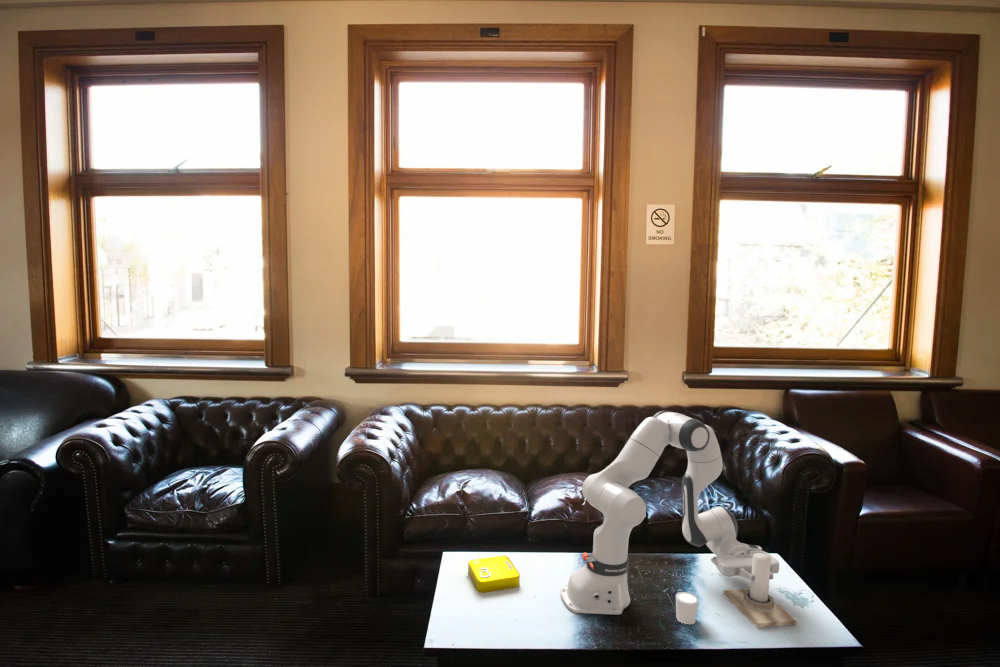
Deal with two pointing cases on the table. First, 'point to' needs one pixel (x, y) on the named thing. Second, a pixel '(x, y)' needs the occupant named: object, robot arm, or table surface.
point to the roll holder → (759, 609)
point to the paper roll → (760, 578)
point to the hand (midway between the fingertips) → (762, 577)
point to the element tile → (493, 574)
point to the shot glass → (686, 607)
